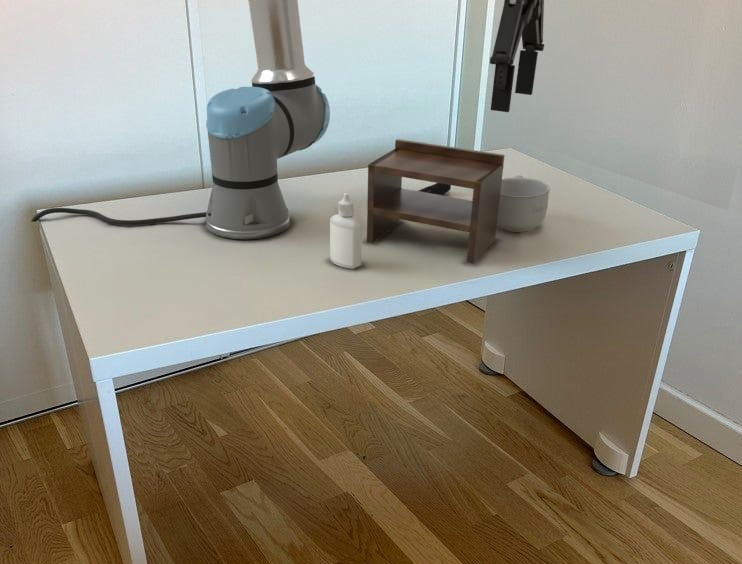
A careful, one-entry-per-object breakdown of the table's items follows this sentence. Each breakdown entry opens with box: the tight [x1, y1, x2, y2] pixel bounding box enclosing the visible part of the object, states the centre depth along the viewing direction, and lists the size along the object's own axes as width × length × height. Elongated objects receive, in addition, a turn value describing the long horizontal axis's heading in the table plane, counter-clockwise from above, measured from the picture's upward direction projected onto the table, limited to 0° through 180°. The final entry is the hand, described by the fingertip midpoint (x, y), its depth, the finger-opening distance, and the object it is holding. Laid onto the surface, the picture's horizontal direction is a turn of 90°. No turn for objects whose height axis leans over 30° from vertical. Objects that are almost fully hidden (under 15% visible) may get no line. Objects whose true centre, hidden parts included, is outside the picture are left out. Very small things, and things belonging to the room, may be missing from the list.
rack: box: [366, 138, 506, 265], centre depth 131 cm, size 20×12×16 cm, turn 64°
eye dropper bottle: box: [329, 192, 363, 270], centre depth 123 cm, size 4×6×12 cm
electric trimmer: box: [418, 183, 452, 196], centre depth 152 cm, size 4×16×3 cm, turn 142°
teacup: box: [497, 175, 551, 233], centre depth 142 cm, size 14×11×8 cm
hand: (512, 102), depth 119 cm, fingers open, 13 cm apart
